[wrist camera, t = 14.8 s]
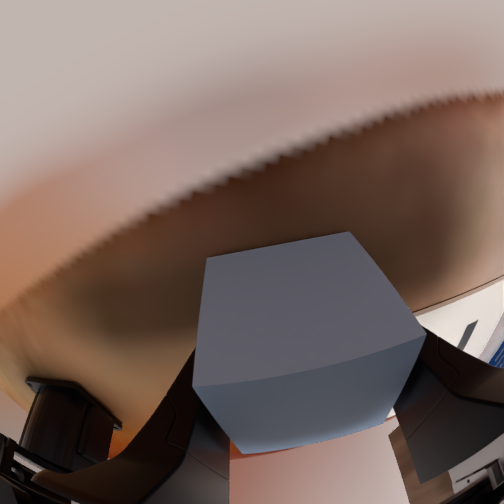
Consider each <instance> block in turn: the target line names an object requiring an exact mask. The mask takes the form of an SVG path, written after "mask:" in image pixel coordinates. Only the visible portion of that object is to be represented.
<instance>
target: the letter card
mask: <svg viewBox="0 0 504 504" xmlns="http://www.w3.org/2000/svg"><path fill="white" fill-rule="evenodd" d="M503 311H504V276H502V277H500V278H498V279H496V280H494V281H491V282H489V283H487V284H485V285H483V286H480V287H478V288H476V289H474V290H471V291H469V292H467V293H464V294H462V295H460V296H457V297H455V298H452V299H450V300H447V301H444V302H442V303H439V304H437V305H434V306H431V307H428V308H426V309H423V310H420V311H417V312H414V313H413V314H414V316H415V317H416V319H417V320H418V322H419V323H420V325H422V326H424V327H425V328H427V329H428V330H430V331H431V332H433V333H435V334H436V335H437V336H438V337H441V338H442V339H444V340H446V341H447V342H449V343H450V344H452V345H454V346H455V347H457V348H459V349H461V350H463V351H464V352H466V353H468V354H470V355H472V356H474V357H476V358H479V356H480V354H481V353H482V351H483V349H484V348H485V346H486V344H487V342H488V341H489V339H490V337H491V335H492V333H493V331H494V330H495V328H496V326H497V324H498V322H499V320H500V318H501V316H502V314H503ZM393 415H396V414H395V412H394V409H393V407H392V409H391V411H390V413H389V414H388V416H387V418H388V417H391V416H393Z"/></svg>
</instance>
